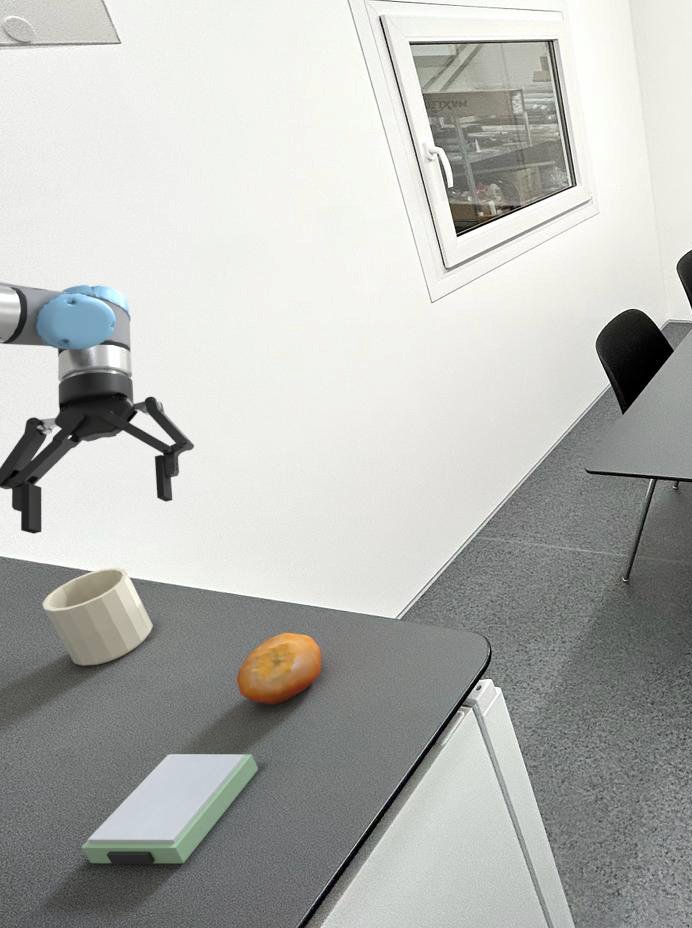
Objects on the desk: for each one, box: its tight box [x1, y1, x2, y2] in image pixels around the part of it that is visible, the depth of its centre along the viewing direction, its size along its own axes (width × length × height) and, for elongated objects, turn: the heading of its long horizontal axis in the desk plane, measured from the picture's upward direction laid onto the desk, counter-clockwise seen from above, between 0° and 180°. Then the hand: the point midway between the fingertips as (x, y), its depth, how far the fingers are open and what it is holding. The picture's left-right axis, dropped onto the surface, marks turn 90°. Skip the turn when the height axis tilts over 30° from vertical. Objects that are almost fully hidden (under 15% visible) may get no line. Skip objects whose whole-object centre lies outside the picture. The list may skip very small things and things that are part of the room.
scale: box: [81, 753, 259, 865], centre depth 65 cm, size 9×10×3 cm
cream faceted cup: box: [41, 567, 154, 666], centre depth 84 cm, size 8×8×10 cm
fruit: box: [236, 632, 322, 706], centre depth 79 cm, size 8×8×8 cm
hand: (100, 514), depth 89 cm, fingers open, 13 cm apart
